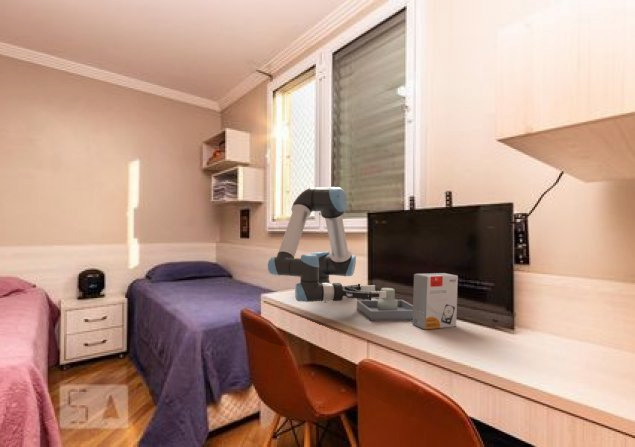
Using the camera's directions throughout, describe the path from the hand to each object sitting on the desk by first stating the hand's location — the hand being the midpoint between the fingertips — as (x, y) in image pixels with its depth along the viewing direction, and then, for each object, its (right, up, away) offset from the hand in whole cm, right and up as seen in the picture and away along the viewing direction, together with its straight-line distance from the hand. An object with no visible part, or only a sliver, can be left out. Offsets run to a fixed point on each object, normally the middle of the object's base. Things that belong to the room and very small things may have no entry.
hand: (380, 291), depth 147 cm
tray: (+3, -10, +1) cm, 11 cm away
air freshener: (+3, -9, +1) cm, 10 cm away
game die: (-5, -10, +19) cm, 22 cm away
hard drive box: (+18, -11, -15) cm, 26 cm away
